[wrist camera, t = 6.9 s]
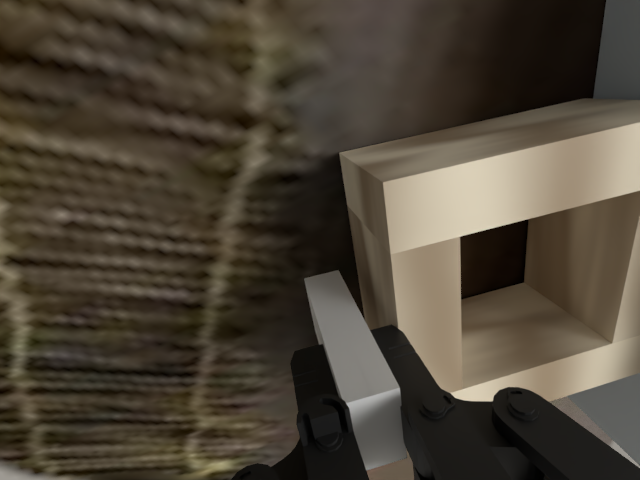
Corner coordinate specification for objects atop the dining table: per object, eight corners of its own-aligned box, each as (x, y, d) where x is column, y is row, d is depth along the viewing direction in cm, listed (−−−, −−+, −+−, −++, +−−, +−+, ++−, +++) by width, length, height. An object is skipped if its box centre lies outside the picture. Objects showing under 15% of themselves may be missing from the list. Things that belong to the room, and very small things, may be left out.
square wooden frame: (371, 360, 19) (411, 445, 14) (339, 152, 14) (382, 182, 10) (557, 306, 20) (649, 369, 15) (583, 98, 15) (724, 102, 11)
